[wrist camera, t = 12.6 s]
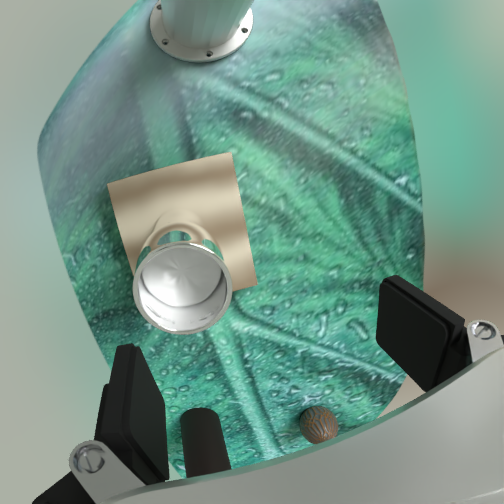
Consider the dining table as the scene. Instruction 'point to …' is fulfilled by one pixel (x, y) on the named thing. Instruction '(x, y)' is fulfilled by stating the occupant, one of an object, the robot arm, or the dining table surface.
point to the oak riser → (191, 198)
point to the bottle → (203, 443)
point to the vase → (318, 424)
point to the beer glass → (181, 275)
